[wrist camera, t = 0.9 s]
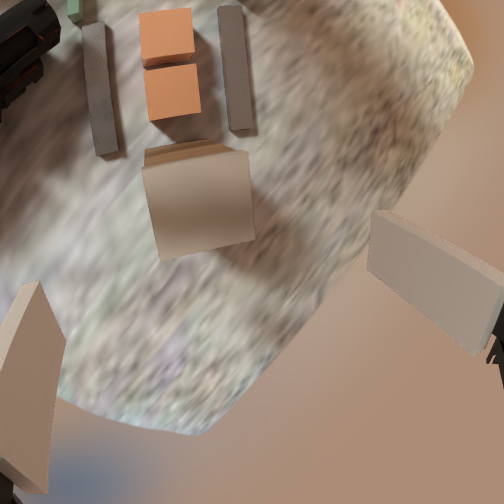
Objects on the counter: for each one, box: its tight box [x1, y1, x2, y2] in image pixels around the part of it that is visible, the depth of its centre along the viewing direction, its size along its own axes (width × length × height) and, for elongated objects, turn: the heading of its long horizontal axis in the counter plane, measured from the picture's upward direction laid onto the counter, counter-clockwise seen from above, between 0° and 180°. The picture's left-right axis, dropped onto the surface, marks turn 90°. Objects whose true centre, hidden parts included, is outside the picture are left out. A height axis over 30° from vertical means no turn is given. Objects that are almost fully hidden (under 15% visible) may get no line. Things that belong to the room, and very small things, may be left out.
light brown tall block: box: [142, 139, 256, 261], centre depth 22 cm, size 5×6×12 cm
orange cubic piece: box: [144, 64, 201, 121], centre depth 23 cm, size 4×4×4 cm
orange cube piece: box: [139, 8, 195, 67], centre depth 21 cm, size 4×4×4 cm
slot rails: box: [82, 6, 254, 156], centre depth 23 cm, size 12×14×1 cm
